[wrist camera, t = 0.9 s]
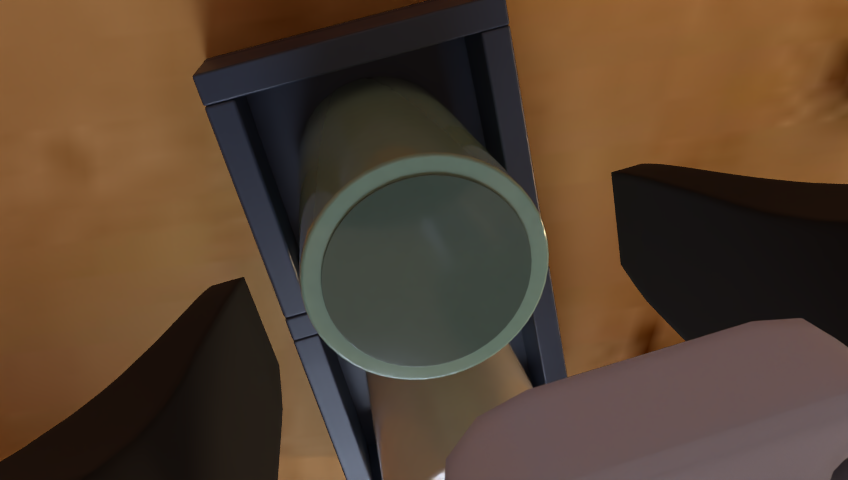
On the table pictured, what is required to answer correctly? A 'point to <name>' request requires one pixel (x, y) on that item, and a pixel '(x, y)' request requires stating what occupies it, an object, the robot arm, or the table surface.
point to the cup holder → (278, 162)
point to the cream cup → (436, 413)
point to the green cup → (411, 234)
